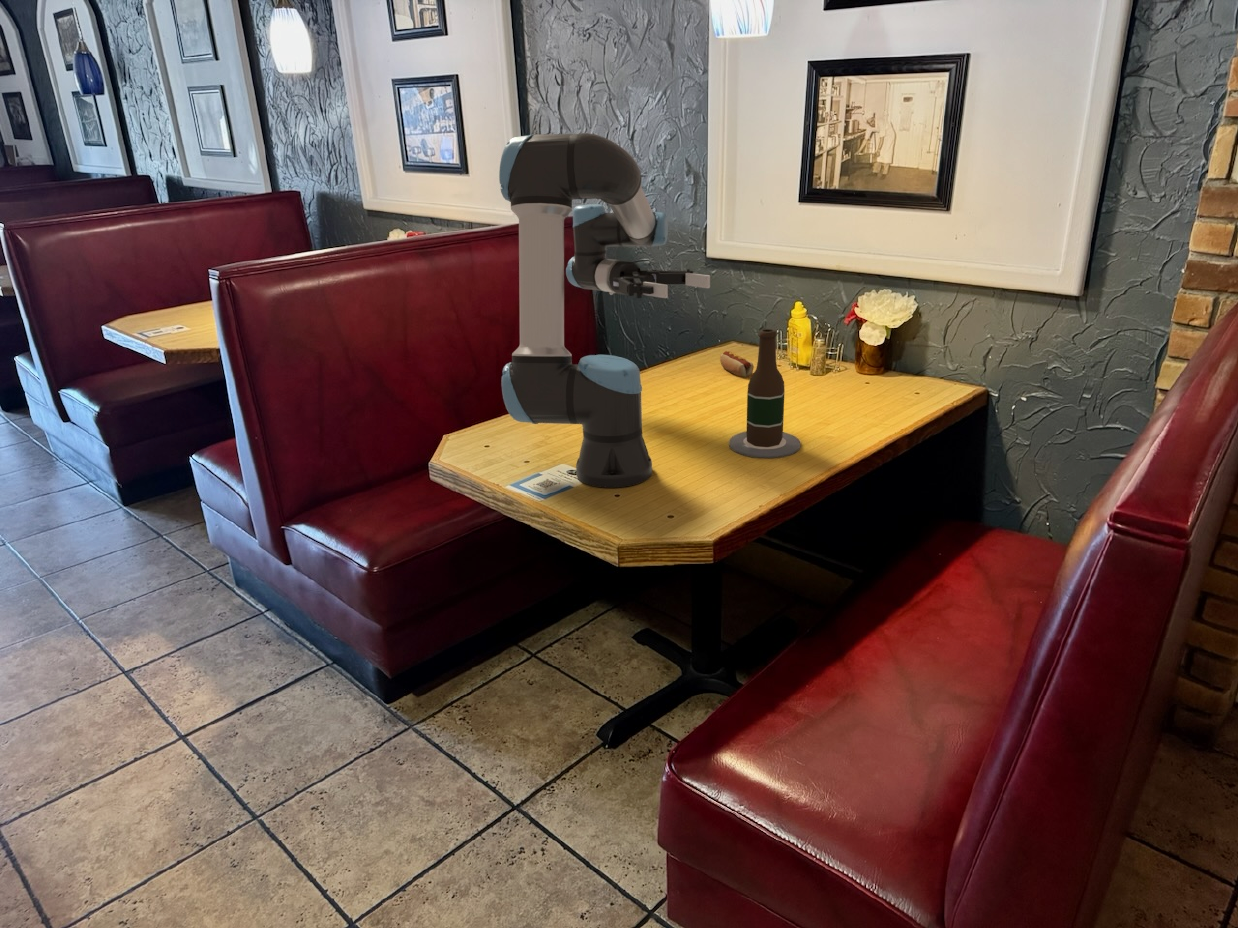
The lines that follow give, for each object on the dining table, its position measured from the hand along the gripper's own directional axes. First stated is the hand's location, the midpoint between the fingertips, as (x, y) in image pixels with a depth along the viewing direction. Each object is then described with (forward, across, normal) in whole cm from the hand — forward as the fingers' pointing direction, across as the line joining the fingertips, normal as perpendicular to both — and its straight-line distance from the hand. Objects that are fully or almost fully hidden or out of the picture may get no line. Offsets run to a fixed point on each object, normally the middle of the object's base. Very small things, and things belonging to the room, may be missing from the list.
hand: (688, 286), depth 180 cm
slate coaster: (+20, -2, -32) cm, 38 cm away
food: (-21, -43, -32) cm, 58 cm away
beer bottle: (+20, -2, -31) cm, 37 cm away
